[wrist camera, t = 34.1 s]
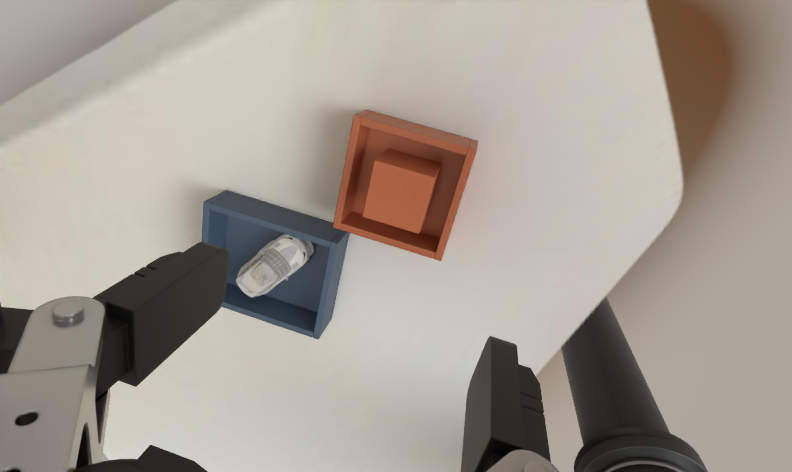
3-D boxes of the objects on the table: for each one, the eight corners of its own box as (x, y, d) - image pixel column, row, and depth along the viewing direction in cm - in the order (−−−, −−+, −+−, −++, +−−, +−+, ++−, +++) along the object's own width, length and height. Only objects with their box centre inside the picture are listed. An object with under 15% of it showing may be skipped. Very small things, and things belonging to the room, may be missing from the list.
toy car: (322, 251, 40) (309, 265, 37) (266, 292, 43) (251, 308, 40) (295, 220, 39) (280, 232, 36) (241, 265, 42) (224, 279, 39)
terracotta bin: (478, 141, 33) (476, 150, 30) (445, 243, 37) (440, 261, 34) (366, 109, 34) (353, 114, 31) (345, 213, 38) (332, 227, 35)
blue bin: (350, 228, 39) (337, 243, 35) (331, 319, 43) (318, 339, 40) (226, 189, 40) (203, 201, 37) (219, 281, 44) (198, 299, 41)
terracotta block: (442, 163, 34) (435, 177, 30) (427, 214, 36) (418, 234, 32) (388, 147, 35) (374, 160, 31) (376, 199, 36) (361, 216, 32)
